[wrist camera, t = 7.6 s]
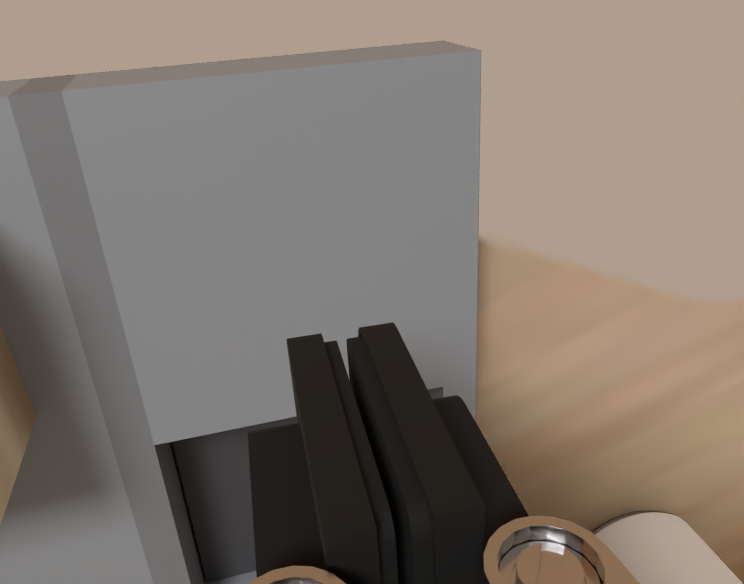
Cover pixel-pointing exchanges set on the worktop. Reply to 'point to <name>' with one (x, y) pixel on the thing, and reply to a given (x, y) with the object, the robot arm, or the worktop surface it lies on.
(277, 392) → the trap deck
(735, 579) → the can
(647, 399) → the worktop surface
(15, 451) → the block
